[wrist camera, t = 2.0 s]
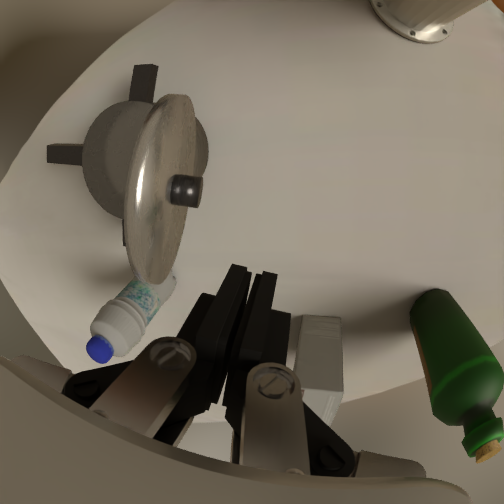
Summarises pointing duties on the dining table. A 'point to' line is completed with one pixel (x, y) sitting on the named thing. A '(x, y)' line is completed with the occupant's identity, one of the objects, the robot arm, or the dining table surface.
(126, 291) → the bottle
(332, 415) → the skincare box
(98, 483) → the robot arm
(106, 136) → the cooker
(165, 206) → the lid
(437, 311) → the bottle
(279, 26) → the dining table surface
